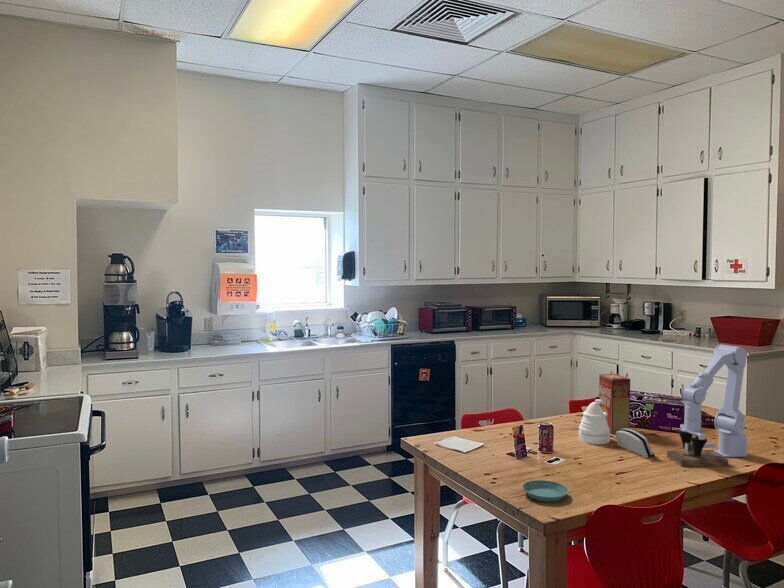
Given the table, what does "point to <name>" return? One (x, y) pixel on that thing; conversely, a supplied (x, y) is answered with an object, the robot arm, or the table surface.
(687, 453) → the bracket
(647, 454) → the napkin holder
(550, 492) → the saucer
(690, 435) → the robot arm
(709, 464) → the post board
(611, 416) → the food packaging
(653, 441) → the table surface
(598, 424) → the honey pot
